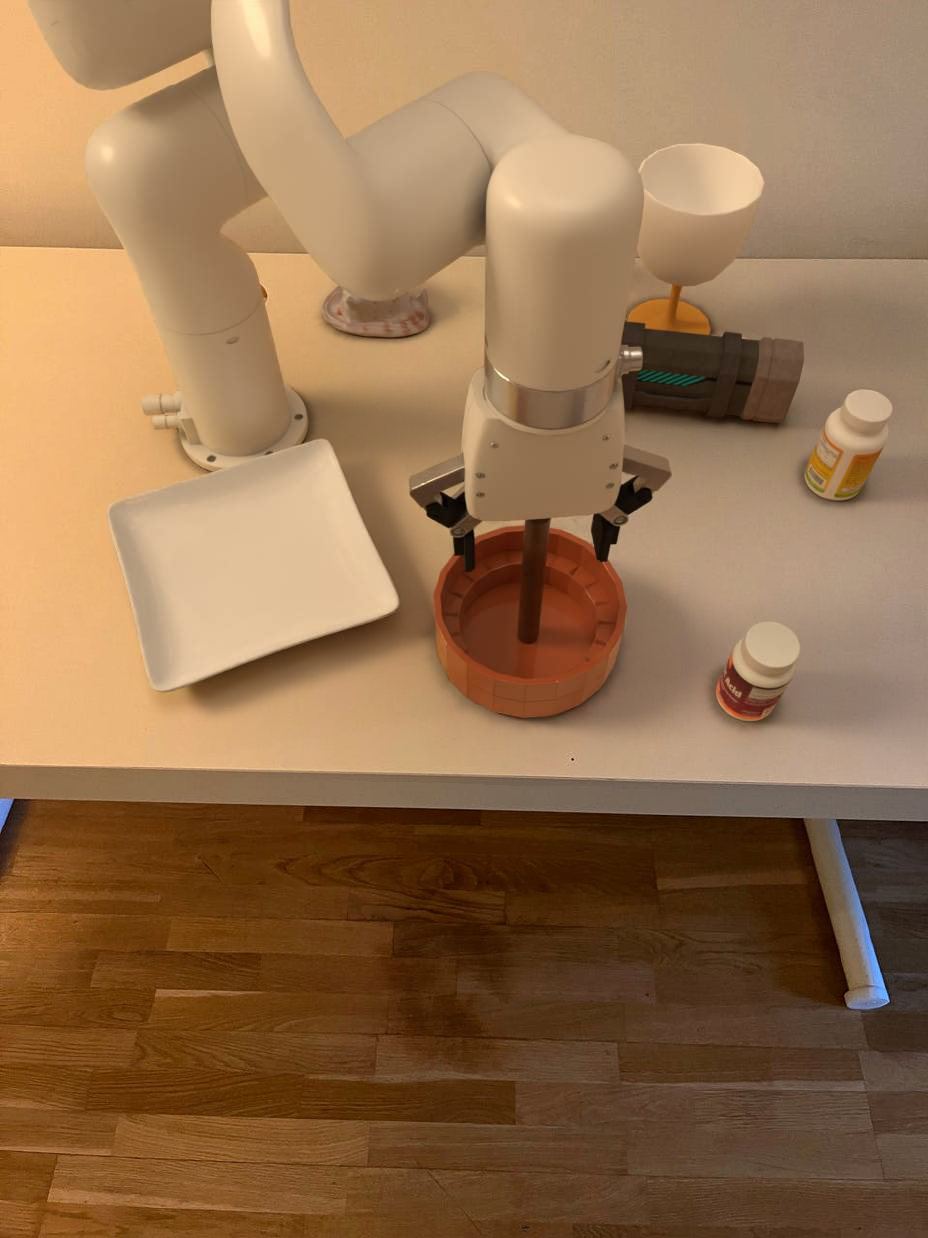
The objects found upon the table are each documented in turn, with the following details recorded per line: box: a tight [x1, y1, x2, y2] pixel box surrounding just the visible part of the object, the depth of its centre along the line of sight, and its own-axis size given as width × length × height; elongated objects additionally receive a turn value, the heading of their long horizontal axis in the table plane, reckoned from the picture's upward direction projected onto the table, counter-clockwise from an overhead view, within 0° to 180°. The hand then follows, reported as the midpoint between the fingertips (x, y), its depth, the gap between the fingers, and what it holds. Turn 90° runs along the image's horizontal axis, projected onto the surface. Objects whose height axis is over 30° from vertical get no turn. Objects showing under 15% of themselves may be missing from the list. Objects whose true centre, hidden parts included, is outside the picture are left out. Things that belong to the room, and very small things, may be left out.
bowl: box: [432, 524, 628, 719], centre depth 74 cm, size 15×15×6 cm
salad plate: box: [106, 438, 401, 694], centre depth 79 cm, size 21×21×3 cm
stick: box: [517, 518, 552, 644], centre depth 69 cm, size 2×2×16 cm
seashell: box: [321, 285, 431, 338], centre depth 96 cm, size 10×12×9 cm
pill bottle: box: [715, 620, 801, 722], centre depth 70 cm, size 5×5×8 cm
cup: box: [626, 142, 766, 335], centre depth 91 cm, size 12×12×17 cm
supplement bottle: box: [804, 388, 894, 501], centre depth 82 cm, size 5×5×10 cm
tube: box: [621, 320, 805, 424], centre depth 89 cm, size 11×7×30 cm
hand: (533, 551), depth 66 cm, fingers open, 9 cm apart
